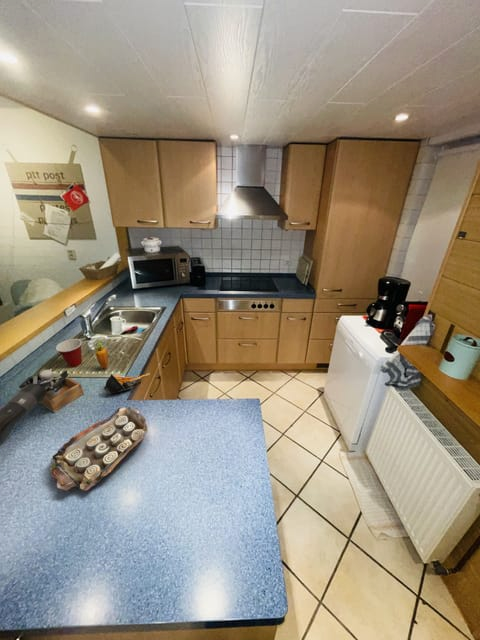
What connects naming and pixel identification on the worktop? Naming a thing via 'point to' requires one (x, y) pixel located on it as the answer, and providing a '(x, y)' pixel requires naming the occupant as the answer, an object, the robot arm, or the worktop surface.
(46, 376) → the salt shaker
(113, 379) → the fried shrimp in bowl
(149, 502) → the worktop surface
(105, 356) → the carrot
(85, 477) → the baking tray
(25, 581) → the worktop surface
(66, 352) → the plastic cup
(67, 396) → the box
